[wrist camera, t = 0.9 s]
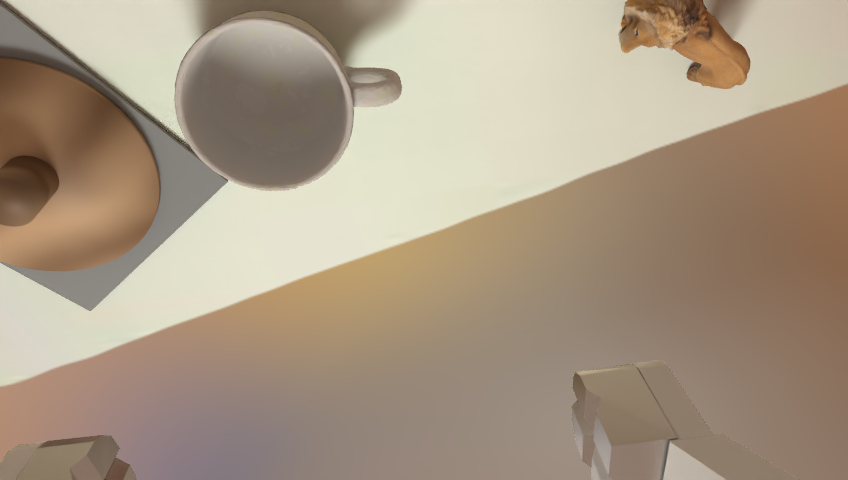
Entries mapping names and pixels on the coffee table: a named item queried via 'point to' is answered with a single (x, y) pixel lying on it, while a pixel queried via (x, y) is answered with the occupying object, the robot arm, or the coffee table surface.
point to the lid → (69, 172)
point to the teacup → (272, 100)
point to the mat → (178, 165)
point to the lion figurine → (686, 38)
